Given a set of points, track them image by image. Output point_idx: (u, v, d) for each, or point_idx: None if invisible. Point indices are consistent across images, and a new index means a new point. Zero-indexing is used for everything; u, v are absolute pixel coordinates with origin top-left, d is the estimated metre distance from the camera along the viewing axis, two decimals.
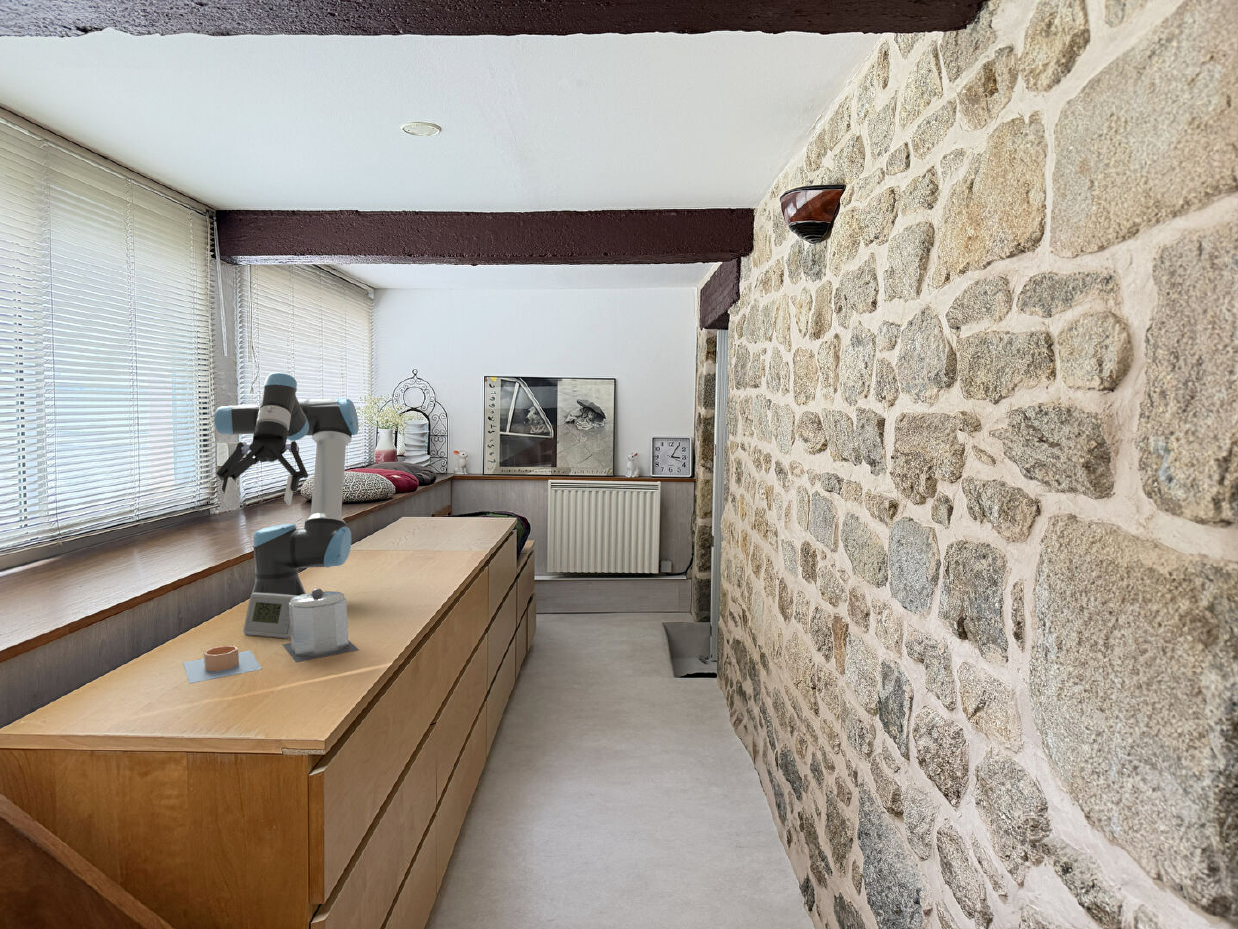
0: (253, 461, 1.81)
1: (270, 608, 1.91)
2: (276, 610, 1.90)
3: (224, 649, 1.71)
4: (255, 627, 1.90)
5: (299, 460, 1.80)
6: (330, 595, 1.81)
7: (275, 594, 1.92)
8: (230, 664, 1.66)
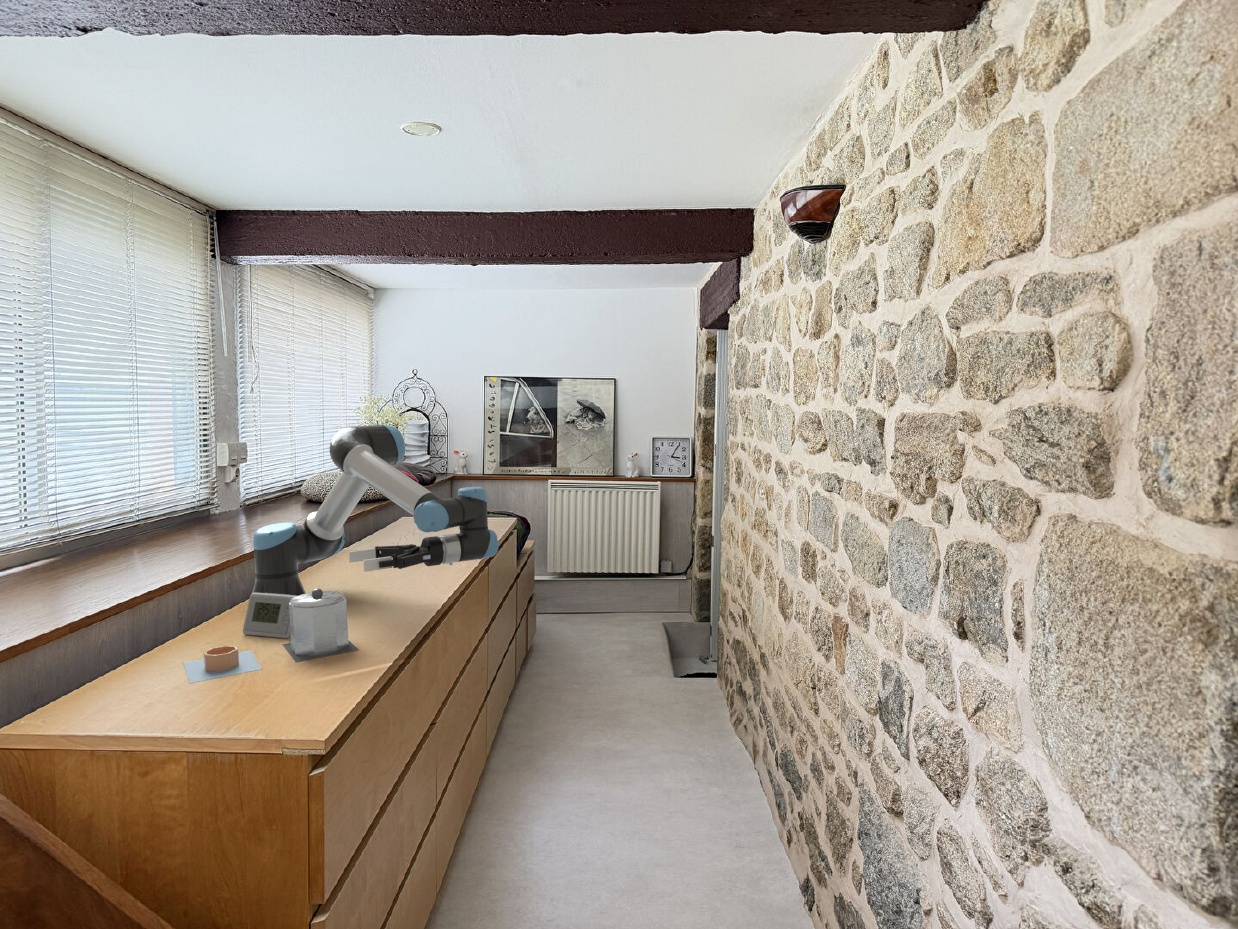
0: None
1: (269, 608, 1.90)
2: (275, 610, 1.90)
3: (224, 649, 1.71)
4: (254, 627, 1.90)
5: None
6: (330, 595, 1.81)
7: (274, 594, 1.92)
8: (230, 664, 1.66)
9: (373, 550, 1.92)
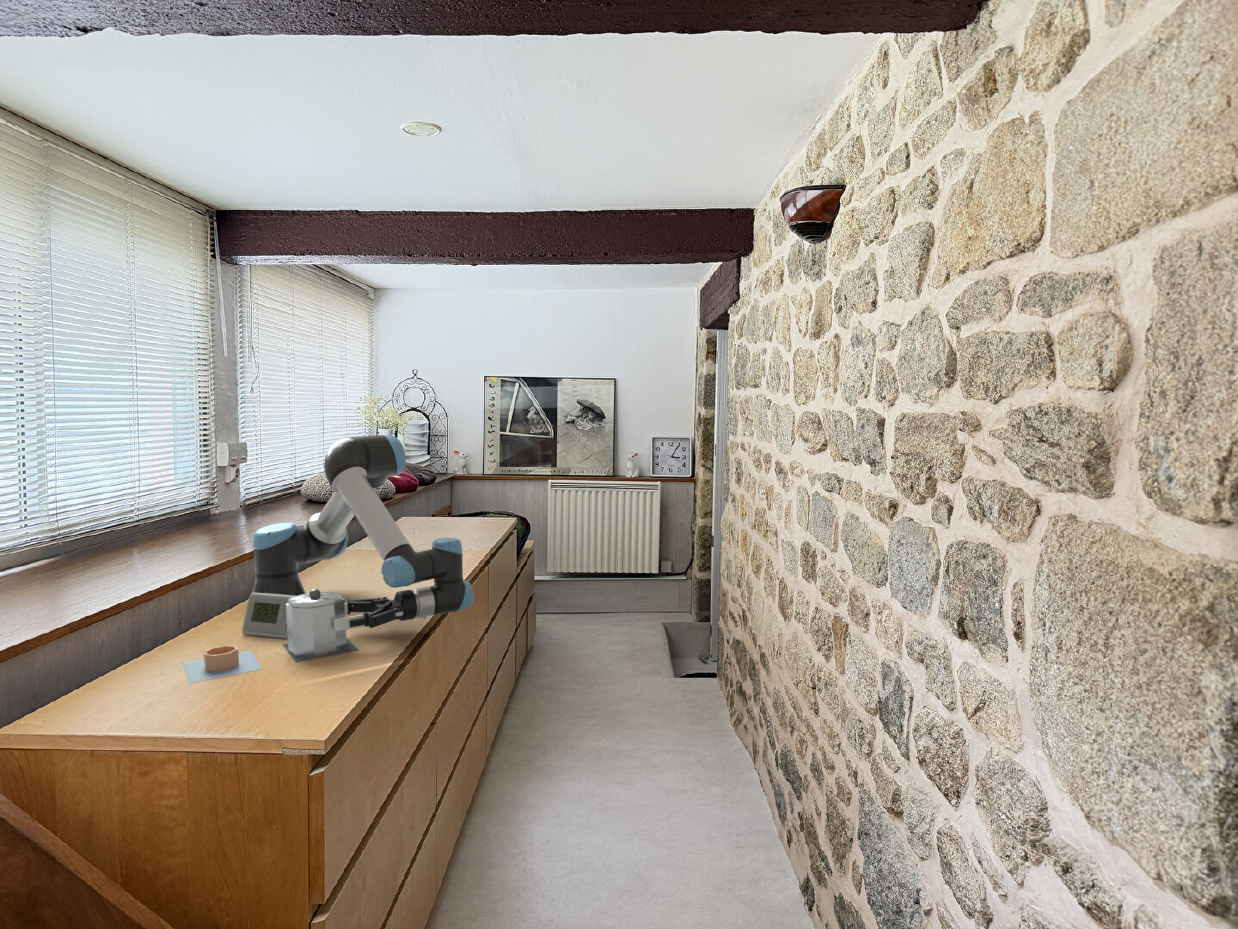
0: None
1: (268, 608, 1.90)
2: (274, 610, 1.90)
3: (224, 649, 1.71)
4: (254, 627, 1.90)
5: None
6: (327, 595, 1.80)
7: (274, 594, 1.92)
8: (230, 664, 1.66)
9: (345, 604, 1.88)
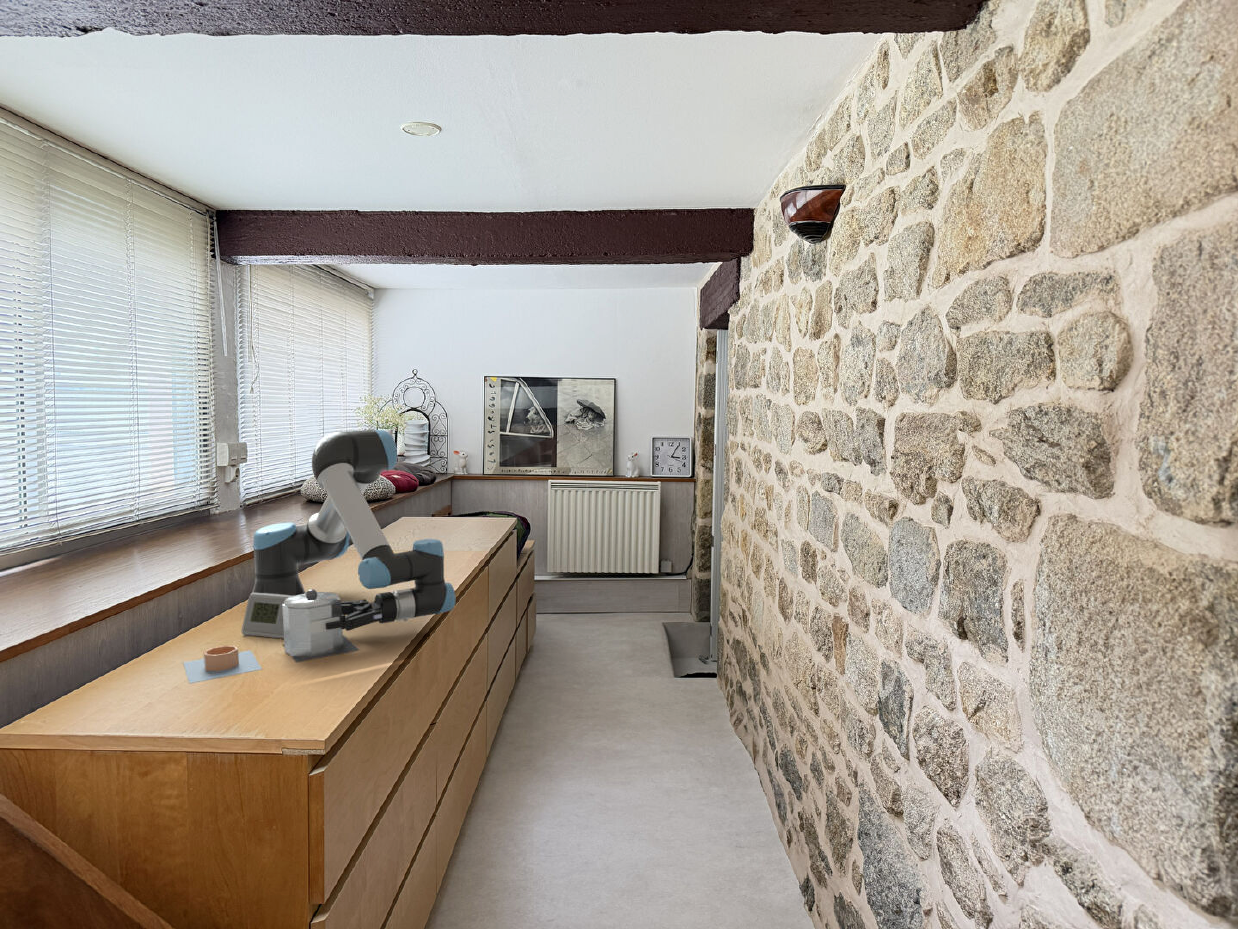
0: None
1: (268, 608, 1.90)
2: (274, 610, 1.90)
3: (224, 649, 1.71)
4: (253, 627, 1.90)
5: None
6: (324, 596, 1.80)
7: (273, 594, 1.92)
8: (230, 664, 1.66)
9: None
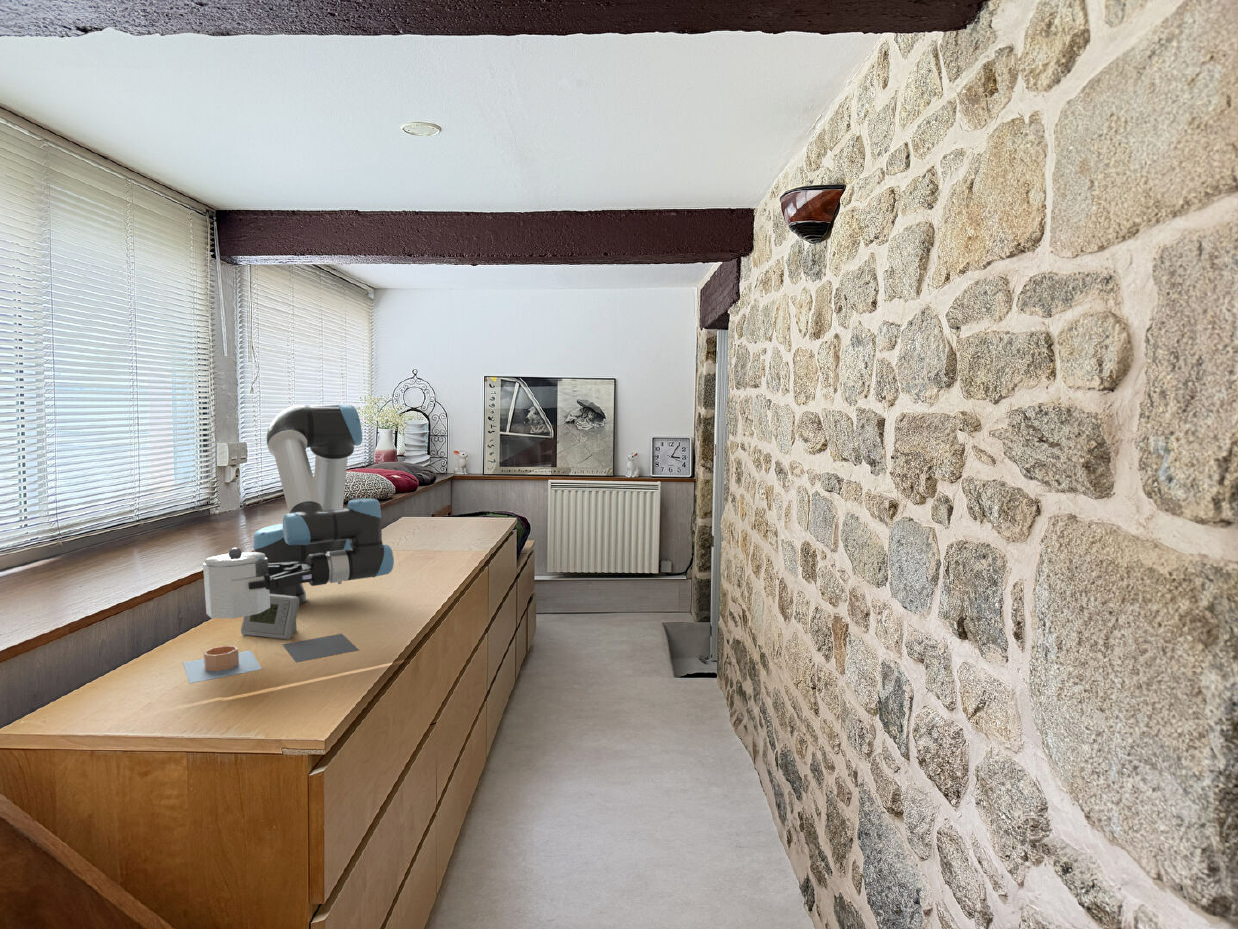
0: None
1: None
2: (273, 610, 1.89)
3: (224, 649, 1.71)
4: (252, 627, 1.90)
5: None
6: (249, 555, 1.69)
7: (272, 594, 1.92)
8: (230, 664, 1.66)
9: None
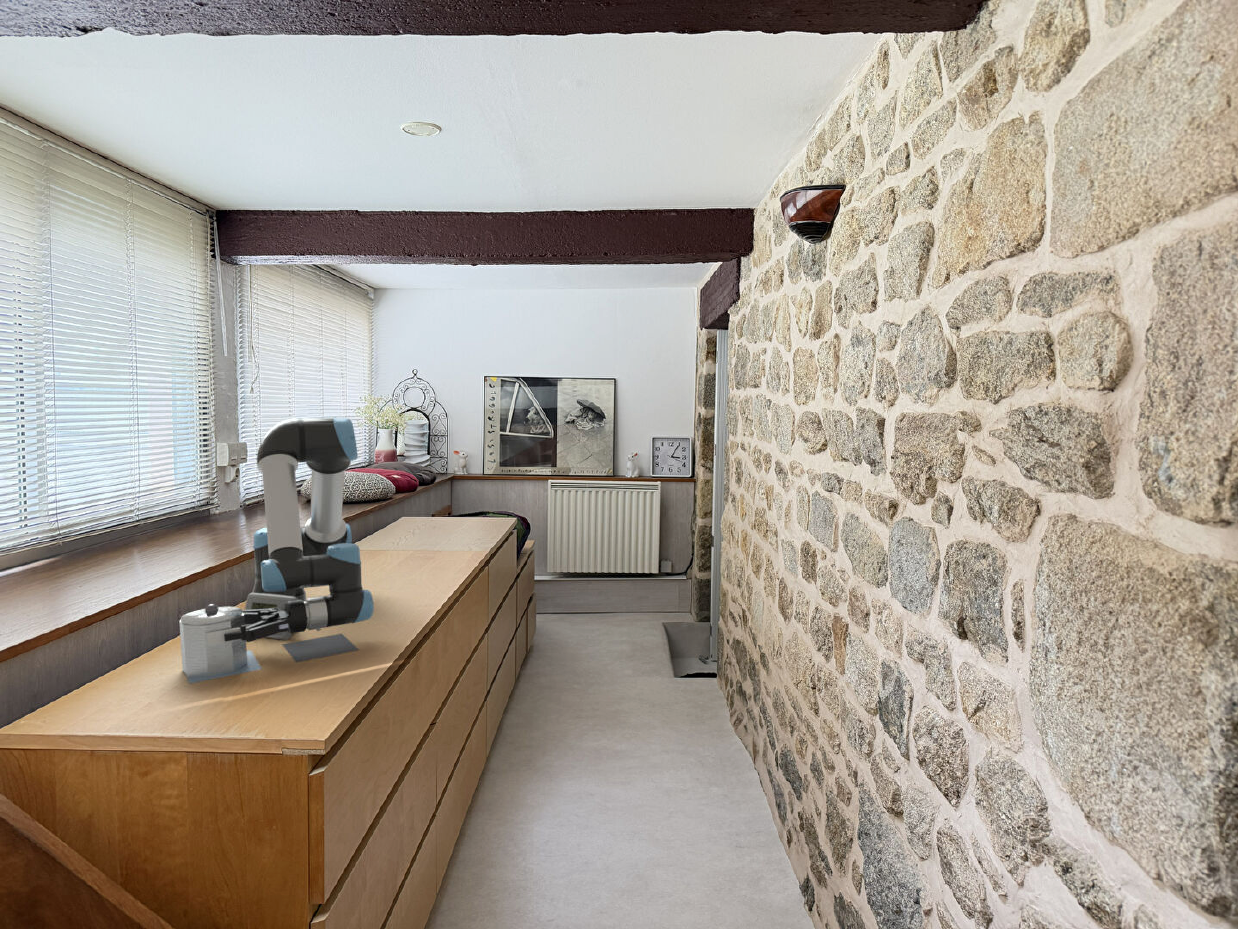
0: None
1: None
2: None
3: None
4: None
5: None
6: (226, 611, 1.68)
7: (271, 595, 1.91)
8: None
9: None
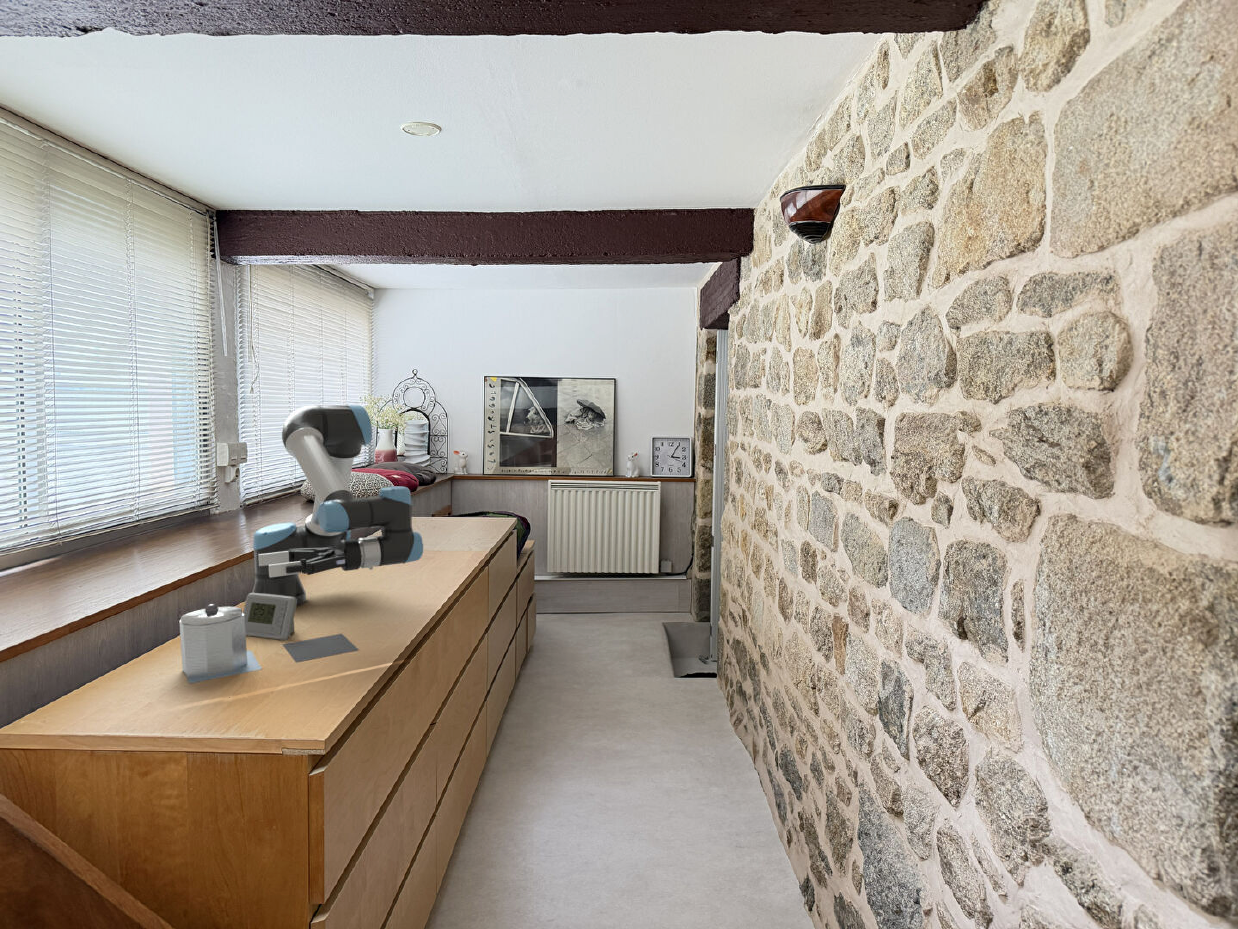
0: None
1: (265, 609, 1.90)
2: (270, 611, 1.89)
3: None
4: (250, 627, 1.90)
5: None
6: (226, 611, 1.68)
7: (270, 595, 1.91)
8: None
9: (286, 553, 1.80)
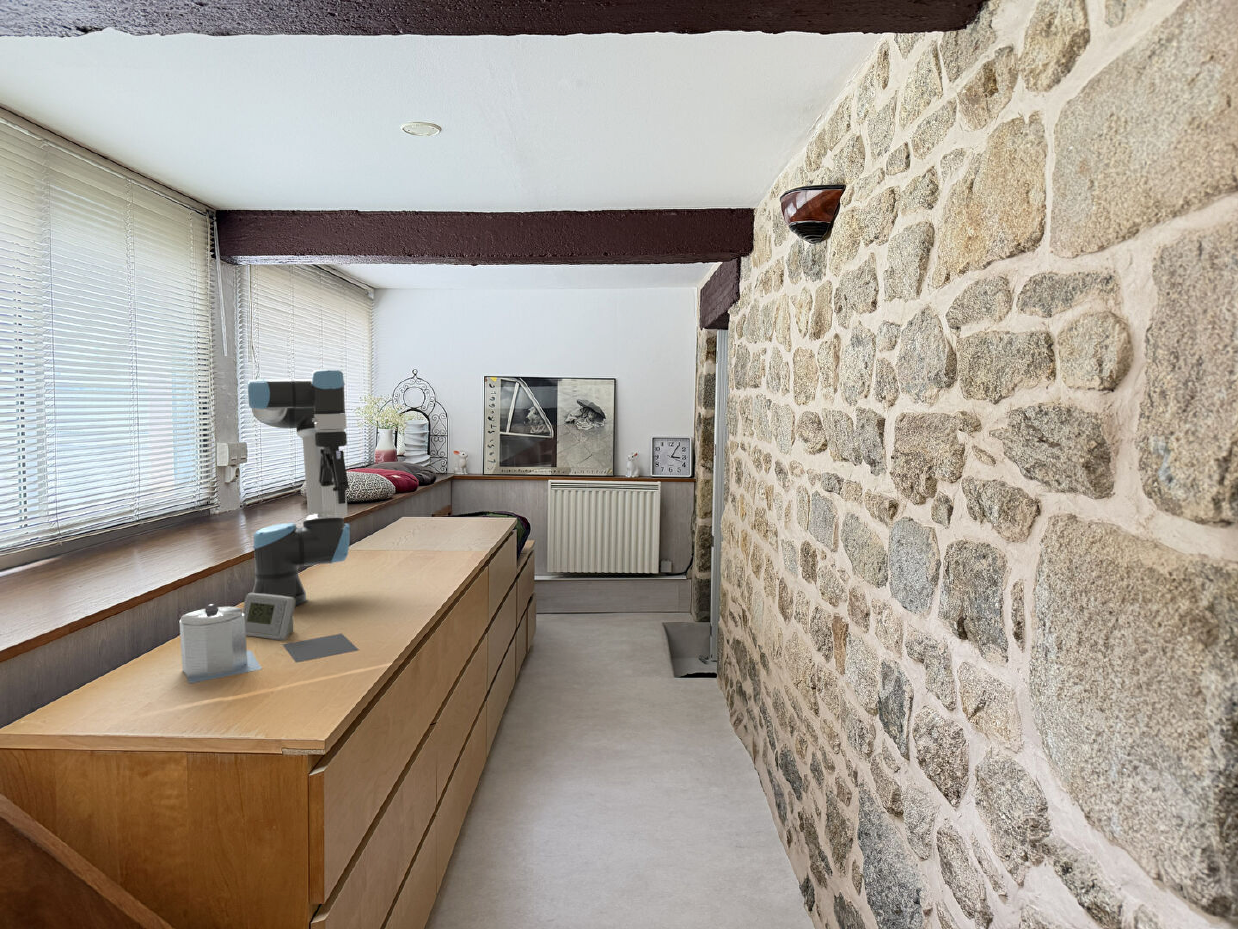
0: None
1: (264, 609, 1.90)
2: (269, 611, 1.89)
3: None
4: (249, 628, 1.90)
5: (336, 474, 1.84)
6: (226, 611, 1.68)
7: (269, 595, 1.91)
8: None
9: None
